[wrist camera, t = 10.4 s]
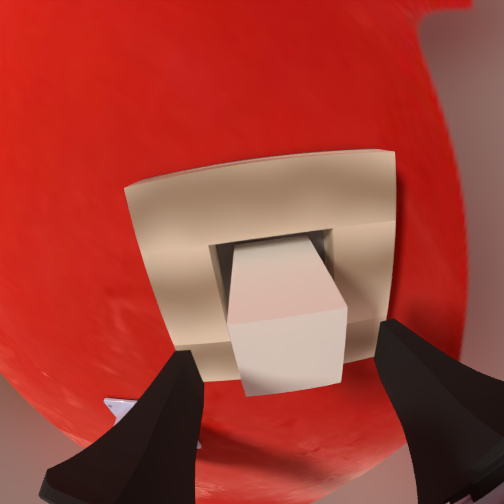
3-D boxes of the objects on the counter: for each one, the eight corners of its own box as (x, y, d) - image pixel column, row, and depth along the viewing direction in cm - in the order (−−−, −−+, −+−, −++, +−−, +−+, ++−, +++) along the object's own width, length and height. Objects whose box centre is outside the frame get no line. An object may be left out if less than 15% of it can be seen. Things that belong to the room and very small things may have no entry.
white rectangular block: (310, 295, 17) (341, 382, 10) (245, 304, 17) (246, 396, 10) (306, 234, 15) (347, 307, 9) (234, 244, 15) (226, 324, 9)
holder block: (367, 332, 19) (379, 355, 16) (194, 357, 19) (190, 382, 17) (373, 148, 14) (394, 151, 11) (142, 179, 14) (124, 188, 12)
